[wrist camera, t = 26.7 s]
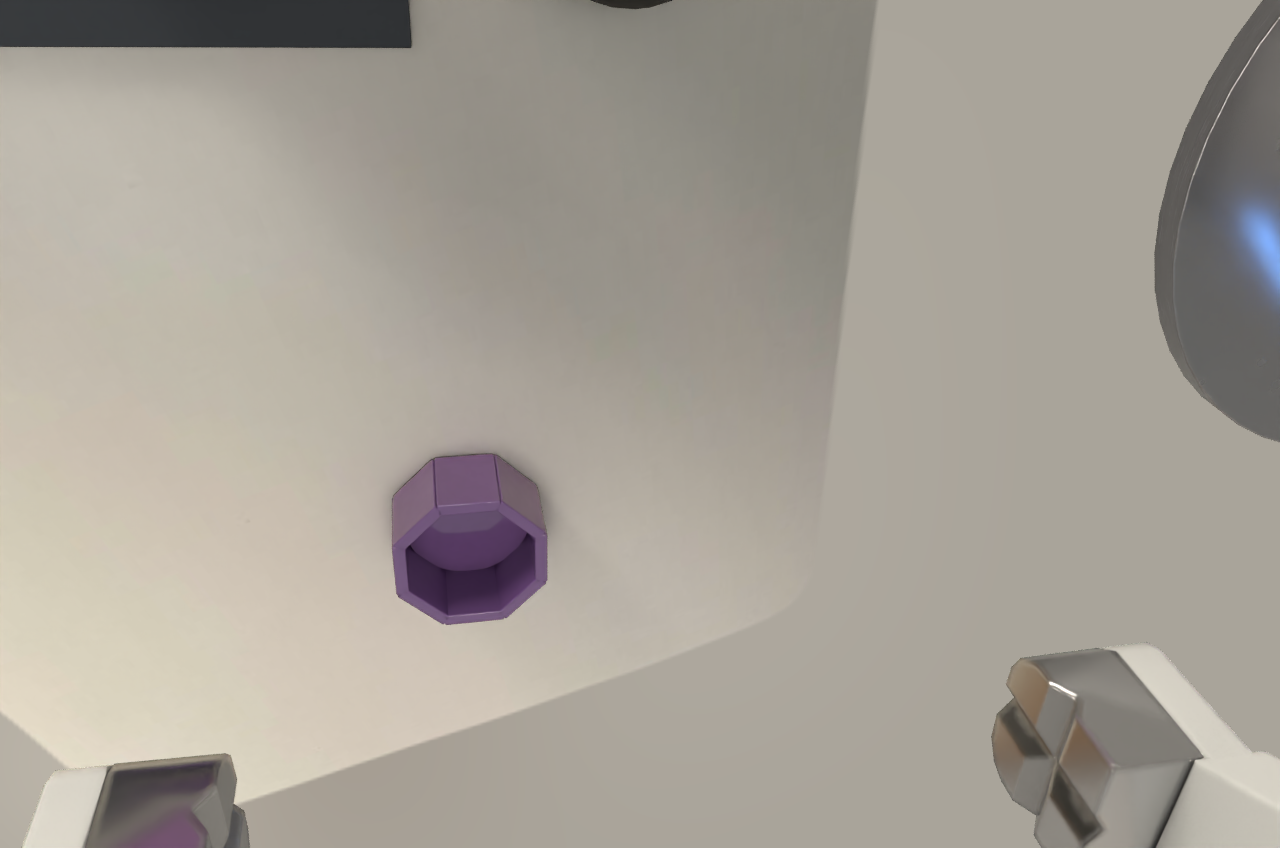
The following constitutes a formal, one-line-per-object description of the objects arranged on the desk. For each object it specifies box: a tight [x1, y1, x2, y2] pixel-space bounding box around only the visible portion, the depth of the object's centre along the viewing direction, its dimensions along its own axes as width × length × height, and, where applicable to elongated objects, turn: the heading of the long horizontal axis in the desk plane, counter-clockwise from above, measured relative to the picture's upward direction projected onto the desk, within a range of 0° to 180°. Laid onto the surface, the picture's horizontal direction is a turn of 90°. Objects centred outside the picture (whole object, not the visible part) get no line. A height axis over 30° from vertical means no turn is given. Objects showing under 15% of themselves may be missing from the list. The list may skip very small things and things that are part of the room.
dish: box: [392, 454, 547, 625], centre depth 43 cm, size 6×6×3 cm
